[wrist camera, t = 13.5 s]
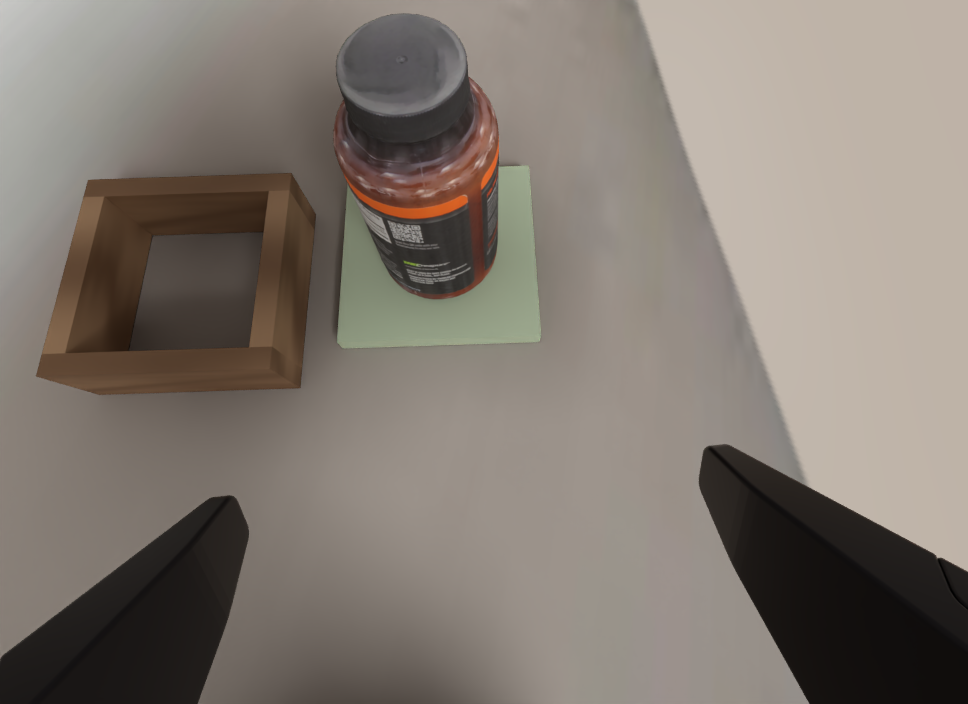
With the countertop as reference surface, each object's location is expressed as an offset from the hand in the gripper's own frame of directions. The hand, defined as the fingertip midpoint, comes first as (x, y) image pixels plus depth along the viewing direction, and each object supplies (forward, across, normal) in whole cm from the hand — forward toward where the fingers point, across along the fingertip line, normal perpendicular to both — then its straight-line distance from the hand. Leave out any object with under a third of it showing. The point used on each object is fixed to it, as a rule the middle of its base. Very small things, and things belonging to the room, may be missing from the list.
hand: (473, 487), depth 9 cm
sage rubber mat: (+19, +1, +1) cm, 19 cm away
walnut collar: (+18, +13, +2) cm, 22 cm away
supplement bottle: (+18, +1, 0) cm, 18 cm away
